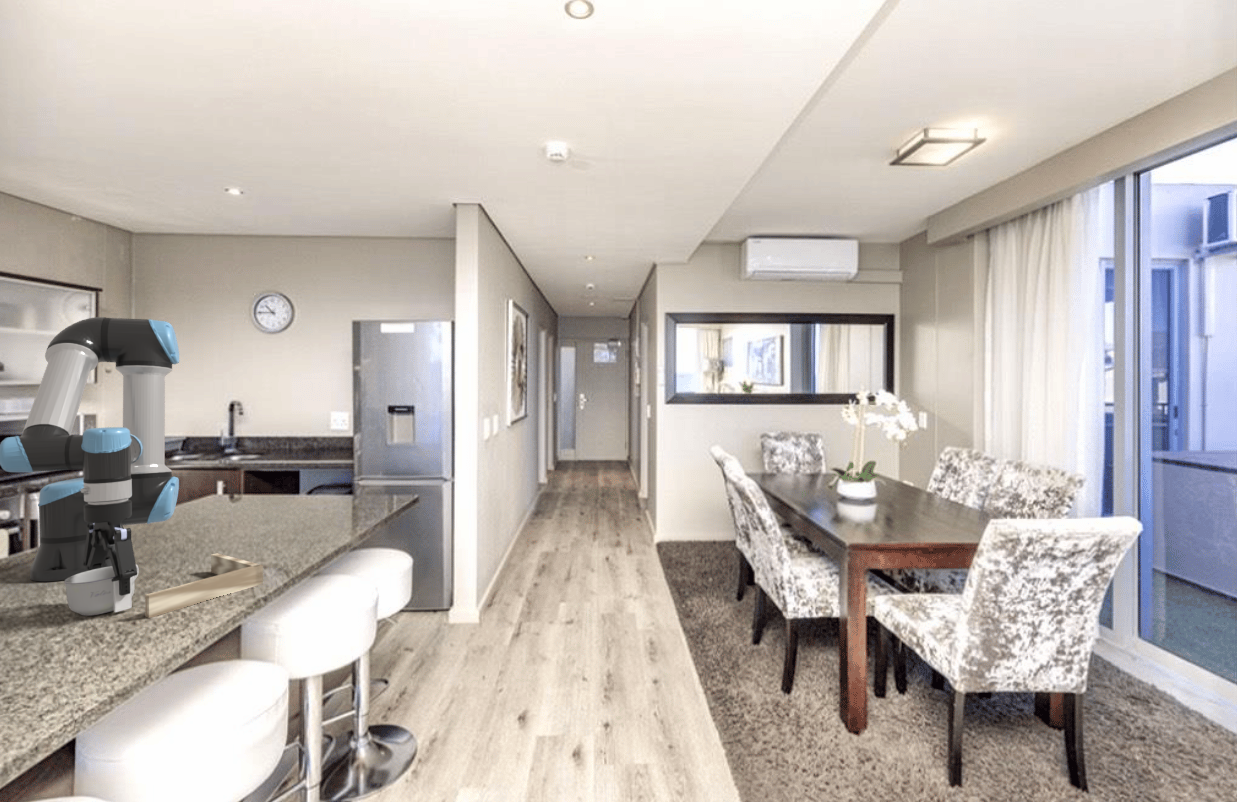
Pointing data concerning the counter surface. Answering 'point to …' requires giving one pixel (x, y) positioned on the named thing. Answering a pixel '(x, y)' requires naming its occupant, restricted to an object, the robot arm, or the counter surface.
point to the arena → (207, 585)
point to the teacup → (93, 591)
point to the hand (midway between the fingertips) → (109, 604)
